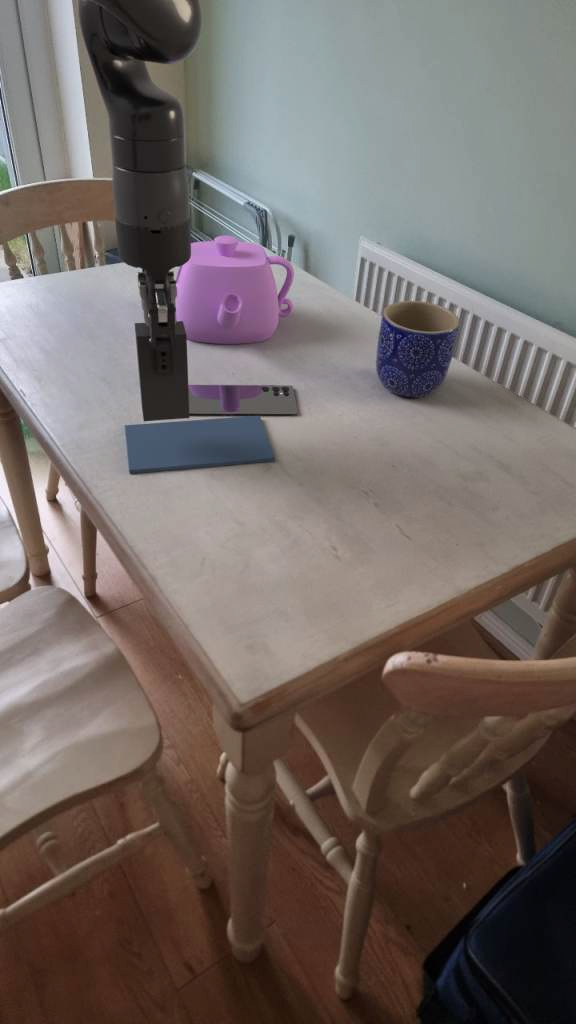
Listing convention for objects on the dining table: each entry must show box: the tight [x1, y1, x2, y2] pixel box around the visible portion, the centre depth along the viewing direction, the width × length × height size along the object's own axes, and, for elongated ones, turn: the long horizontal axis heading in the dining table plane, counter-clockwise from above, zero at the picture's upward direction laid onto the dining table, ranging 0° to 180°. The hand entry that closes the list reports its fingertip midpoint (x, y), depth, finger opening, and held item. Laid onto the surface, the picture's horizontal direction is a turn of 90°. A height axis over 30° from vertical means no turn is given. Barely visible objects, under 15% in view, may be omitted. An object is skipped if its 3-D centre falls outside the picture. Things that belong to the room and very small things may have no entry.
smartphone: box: [188, 384, 298, 416], centre depth 98 cm, size 8×1×16 cm
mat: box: [124, 415, 276, 475], centre depth 89 cm, size 18×10×1 cm, turn 103°
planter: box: [375, 300, 461, 398], centre depth 101 cm, size 11×11×11 cm
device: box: [134, 321, 190, 422], centre depth 81 cm, size 6×4×11 cm, turn 103°
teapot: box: [175, 235, 295, 345], centre depth 112 cm, size 19×21×14 cm
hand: (162, 364), depth 81 cm, fingers closed on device, 3 cm apart
